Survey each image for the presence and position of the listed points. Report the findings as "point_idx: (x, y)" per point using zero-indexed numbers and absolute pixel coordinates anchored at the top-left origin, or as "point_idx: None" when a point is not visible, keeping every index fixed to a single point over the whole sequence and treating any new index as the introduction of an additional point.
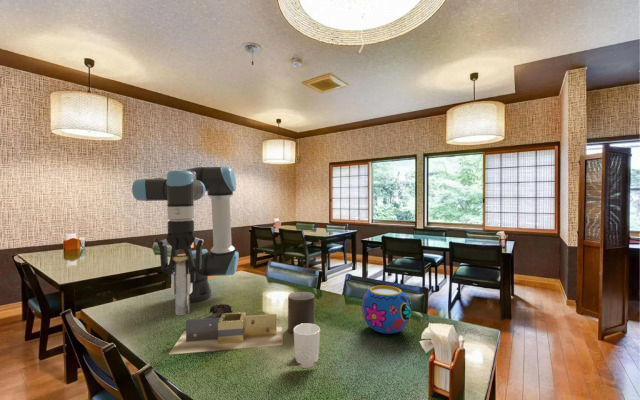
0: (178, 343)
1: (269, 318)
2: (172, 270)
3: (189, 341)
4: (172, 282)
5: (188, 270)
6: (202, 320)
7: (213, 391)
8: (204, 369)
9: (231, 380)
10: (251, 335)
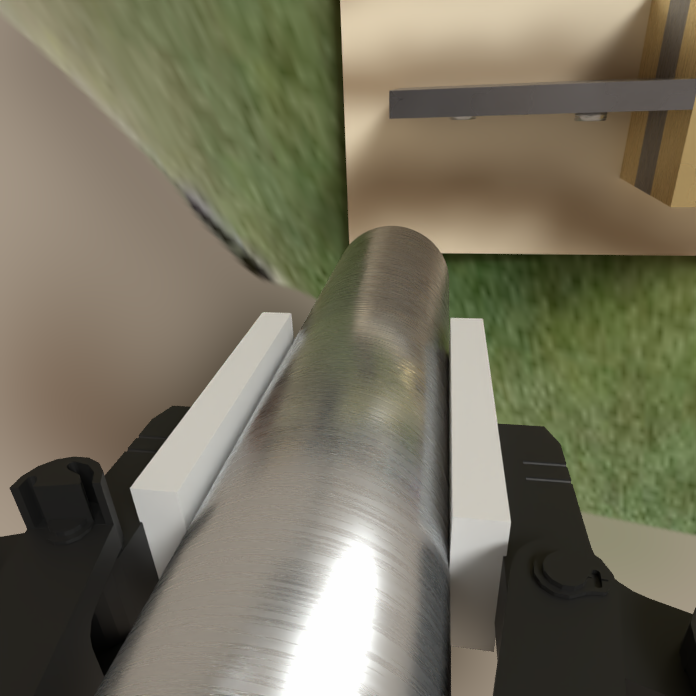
0: (360, 127)
1: None
2: (115, 612)
3: None
4: None
5: (450, 634)
6: (527, 113)
7: (602, 503)
8: (552, 370)
9: (674, 463)
10: None
